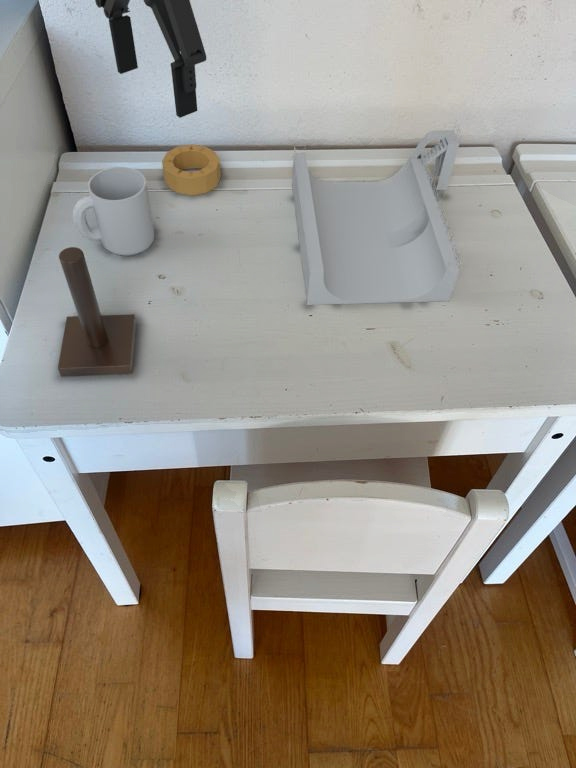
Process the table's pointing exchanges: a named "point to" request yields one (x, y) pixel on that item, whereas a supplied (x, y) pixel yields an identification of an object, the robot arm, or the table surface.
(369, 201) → the skate ramp
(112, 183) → the cup
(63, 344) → the stand
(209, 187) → the tape roll
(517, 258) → the table surface
